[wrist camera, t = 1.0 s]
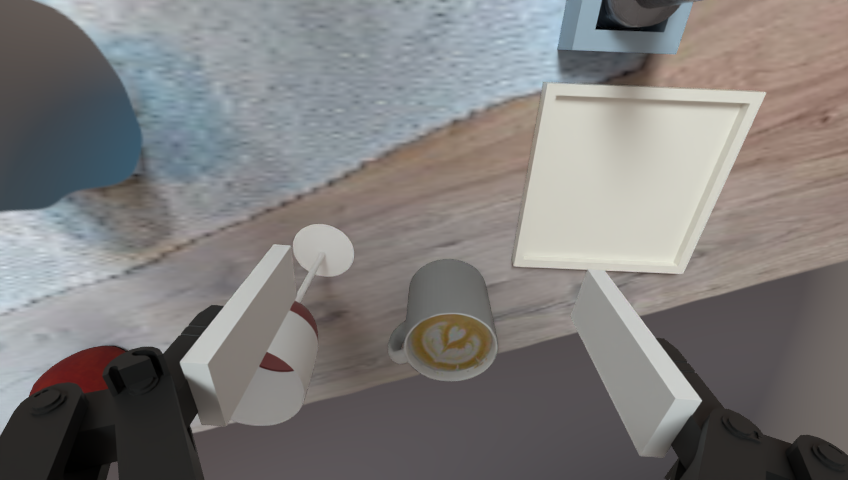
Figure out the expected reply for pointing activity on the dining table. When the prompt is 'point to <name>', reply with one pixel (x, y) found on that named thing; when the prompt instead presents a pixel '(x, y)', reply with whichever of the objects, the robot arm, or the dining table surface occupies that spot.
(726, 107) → the tray
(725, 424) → the robot arm
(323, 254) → the wineglass
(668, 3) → the pestle
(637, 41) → the ring
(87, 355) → the apple
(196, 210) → the dining table surface
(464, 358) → the coffee mug
